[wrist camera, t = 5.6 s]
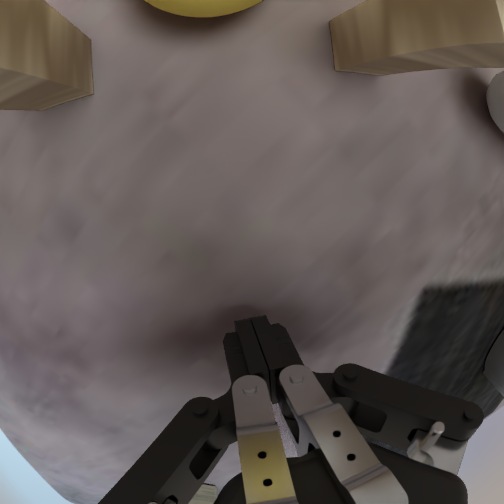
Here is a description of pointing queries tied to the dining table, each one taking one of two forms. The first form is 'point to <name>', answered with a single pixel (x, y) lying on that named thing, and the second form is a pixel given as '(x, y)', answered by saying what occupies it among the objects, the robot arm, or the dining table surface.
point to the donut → (496, 100)
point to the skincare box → (205, 495)
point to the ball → (203, 7)
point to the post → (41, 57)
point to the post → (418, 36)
